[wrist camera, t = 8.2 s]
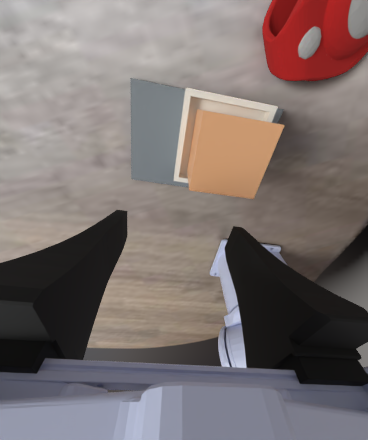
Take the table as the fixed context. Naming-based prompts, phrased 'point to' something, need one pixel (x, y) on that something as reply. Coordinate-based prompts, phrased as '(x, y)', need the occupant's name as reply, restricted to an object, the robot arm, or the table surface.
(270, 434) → the robot arm
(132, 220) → the table surface
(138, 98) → the baseplate
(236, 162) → the orange block
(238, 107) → the cream base block
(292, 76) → the tracker holder
